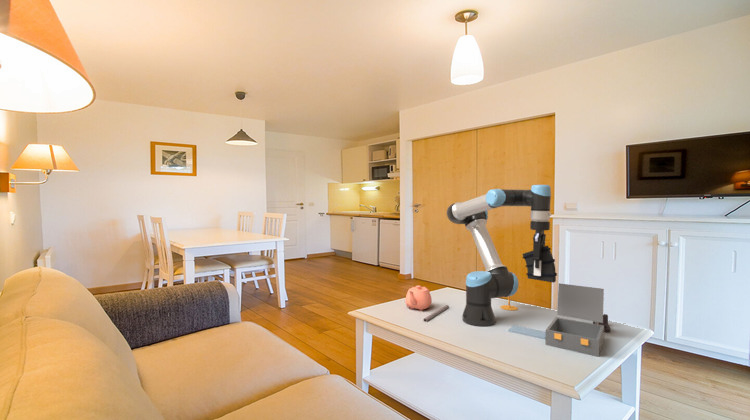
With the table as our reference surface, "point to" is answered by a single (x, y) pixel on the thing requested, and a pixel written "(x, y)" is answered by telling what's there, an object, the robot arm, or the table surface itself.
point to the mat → (528, 331)
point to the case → (575, 336)
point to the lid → (580, 302)
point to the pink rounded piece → (418, 298)
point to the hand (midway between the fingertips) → (538, 274)
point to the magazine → (546, 265)
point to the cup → (508, 306)
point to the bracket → (604, 323)
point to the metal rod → (435, 313)
